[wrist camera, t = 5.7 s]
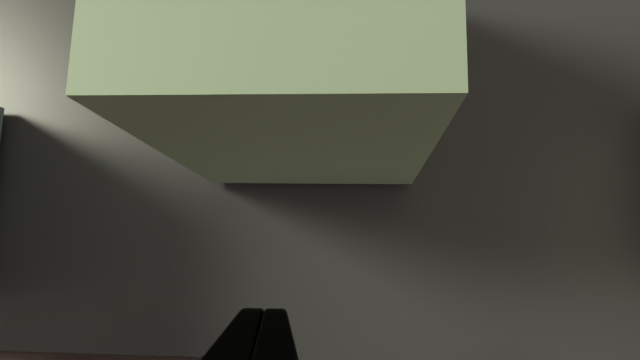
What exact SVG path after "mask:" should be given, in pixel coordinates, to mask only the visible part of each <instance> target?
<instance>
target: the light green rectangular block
mask: <svg viewBox="0 0 640 360" xmlns="http://www.w3.org/2000/svg"><path fill="white" fill-rule="evenodd" d="M467 94H468V68H467V35H466V3H465V0H76V2H75V11H74V20H73V29H72V39H71V48H70V57H69V66H68V75H67V85H66V94H65V95H66V96H67V97H69V98H71V99H72V100H74V101H76V102H77V103H79V104H81V105H82V106H84V107H86V108H87V109H89V110H91V111H92V112H94V113H96V114H97V115H99V116H101V117H102V118H104V119H106V120H108V121H109V122H111V123H113V124H114V125H116V126H118V127H119V128H121V129H123V130H124V131H126V132H128V133H129V134H131V135H133V136H134V137H136V138H138V139H139V140H141V141H143V142H144V143H146V144H148V145H150V146H151V147H153V148H155V149H156V150H158V151H160V152H161V153H163V154H165V155H166V156H168V157H170V158H171V159H173V160H175V161H176V162H178V163H180V164H181V165H183V166H185V167H186V168H188V169H190V170H191V171H193V172H195V173H197V174H198V175H200V176H202V177H203V178H205V179H207V180H208V181H210V182H212V183H291V184H412V183H413V182H414V180H415V178H416V177H417V175H418V173H419V172H420V170H421V169H422V167H423V165H424V164H425V162H426V161H427V159H428V157H429V156H430V154H431V152H432V151H433V149H434V148H435V146H436V144H437V143H438V141H439V139H440V138H441V136H442V135H443V133H444V131H445V130H446V128H447V127H448V125H449V123H450V122H451V120H452V118H453V117H454V115H455V114H456V112H457V110H458V109H459V107H460V105H461V104H462V102H463V101H464V99H465V97H466V96H467Z"/></svg>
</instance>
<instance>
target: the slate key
mask: <svg viewBox="0 0 640 360" xmlns="http://www.w3.org/2000/svg"><path fill="white" fill-rule="evenodd" d="M3 116H4V108H2V107H0V139H1V132H2V124H3Z"/></svg>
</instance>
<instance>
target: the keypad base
mask: <svg viewBox="0 0 640 360" xmlns="http://www.w3.org/2000/svg"><path fill="white" fill-rule="evenodd" d="M75 2H76V0H0V107H2V108H4V116H3V124H2V132H1V139H0V351H22V352H52V353H81V354H111V355H141V356H171V357H201V358H202V357H203V356H204V355H205V353H206V352H207V351H208V350H209V348H210V347H211V346H212V345H213V343H214V342H215V341H216V340H217V338H218V337H219V336H220V335H221V333H222V332H223V331H224V330H225V328H226V327H227V326H228V325H229V323H230V322H231V321H232V320H233V318H234V317H235V316H236V315H237V313H238V312H239V311H240V310H241V309H243V308H262V309H263V310H264V311H265V309H267V308H282V309H285V310H286V311H287V314H288V318H289V322H290V326H291V330H292V334H293V338H294V342H295V346H296V350H297V354H298V358H299V360H640V0H465V3H466V35H467V68H468V94H467V96H466V97H465V99H464V101H463V102H462V104H461V105H460V107H459V109H458V110H457V112H456V114H455V115H454V117H453V118H452V120H451V122H450V123H449V125H448V127H447V128H446V130H445V131H444V133H443V135H442V136H441V138H440V139H439V141H438V143H437V144H436V146H435V148H434V149H433V151H432V152H431V154H430V156H429V157H428V159H427V161H426V162H425V164H424V165H423V167H422V169H421V170H420V172H419V173H418V175H417V177H416V178H415V180H414V182H413V183H412V184H291V183H212V182H210V181H208V180H207V179H205V178H203V177H202V176H200V175H198V174H197V173H195V172H193V171H191V170H190V169H188V168H186V167H185V166H183V165H181V164H180V163H178V162H176V161H175V160H173V159H171V158H170V157H168V156H166V155H165V154H163V153H161V152H160V151H158V150H156V149H155V148H153V147H151V146H150V145H148V144H146V143H144V142H143V141H141V140H139V139H138V138H136V137H134V136H133V135H131V134H129V133H128V132H126V131H124V130H123V129H121V128H119V127H118V126H116V125H114V124H113V123H111V122H109V121H108V120H106V119H104V118H102V117H101V116H99V115H97V114H96V113H94V112H92V111H91V110H89V109H87V108H86V107H84V106H82V105H81V104H79V103H77V102H76V101H74V100H72V99H71V98H69V97H67V96H66V95H65V94H66V85H67V75H68V66H69V57H70V48H71V39H72V29H73V20H74V11H75Z"/></svg>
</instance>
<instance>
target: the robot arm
mask: <svg viewBox="0 0 640 360" xmlns="http://www.w3.org/2000/svg"><path fill="white" fill-rule="evenodd" d="M201 360H299V358H298V354H297V350H296V346H295V342H294V338H293V334H292V330H291V326H290V322H289V318H288V314H287V311H286V310H285V309H282V308H267V309H265V311H264V310H263V309H262V308H243V309H241V310H240V311H239V312H238V313H237V315H236V316H235V317H234V318H233V320H232V321H231V322H230V323H229V325H228V326H227V327H226V328H225V330H224V331H223V332H222V333H221V335H220V336H219V337H218V338H217V340H216V341H215V342H214V343H213V345H212V346H211V347H210V348H209V350H208V351H207V352H206V353H205V355H204V356H203V357H202V358H201Z"/></svg>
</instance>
